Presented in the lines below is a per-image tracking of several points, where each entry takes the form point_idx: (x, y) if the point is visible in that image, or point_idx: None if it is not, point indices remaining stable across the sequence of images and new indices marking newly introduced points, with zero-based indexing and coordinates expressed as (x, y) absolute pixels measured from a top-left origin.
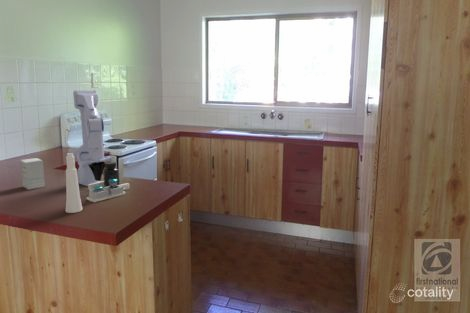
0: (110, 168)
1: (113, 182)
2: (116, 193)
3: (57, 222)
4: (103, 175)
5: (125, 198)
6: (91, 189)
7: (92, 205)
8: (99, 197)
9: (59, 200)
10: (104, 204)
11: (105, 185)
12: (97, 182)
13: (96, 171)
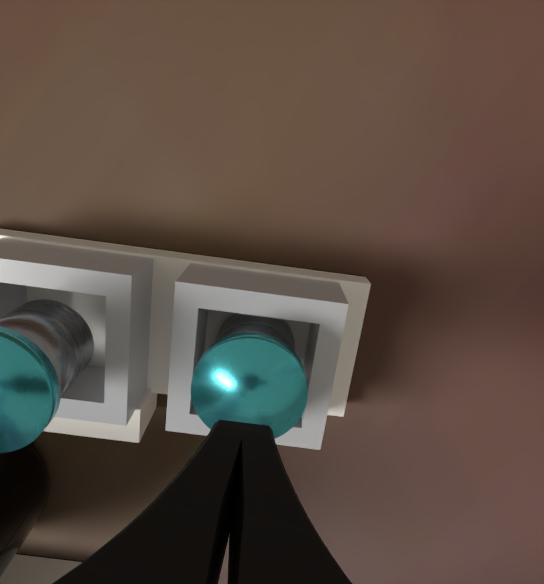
0: None
1: (24, 340)
2: (88, 250)
3: None
4: None
5: (79, 103)
6: None
7: (443, 211)
8: (302, 281)
9: (474, 546)
10: (357, 130)
11: (28, 515)
12: None
13: (333, 564)
